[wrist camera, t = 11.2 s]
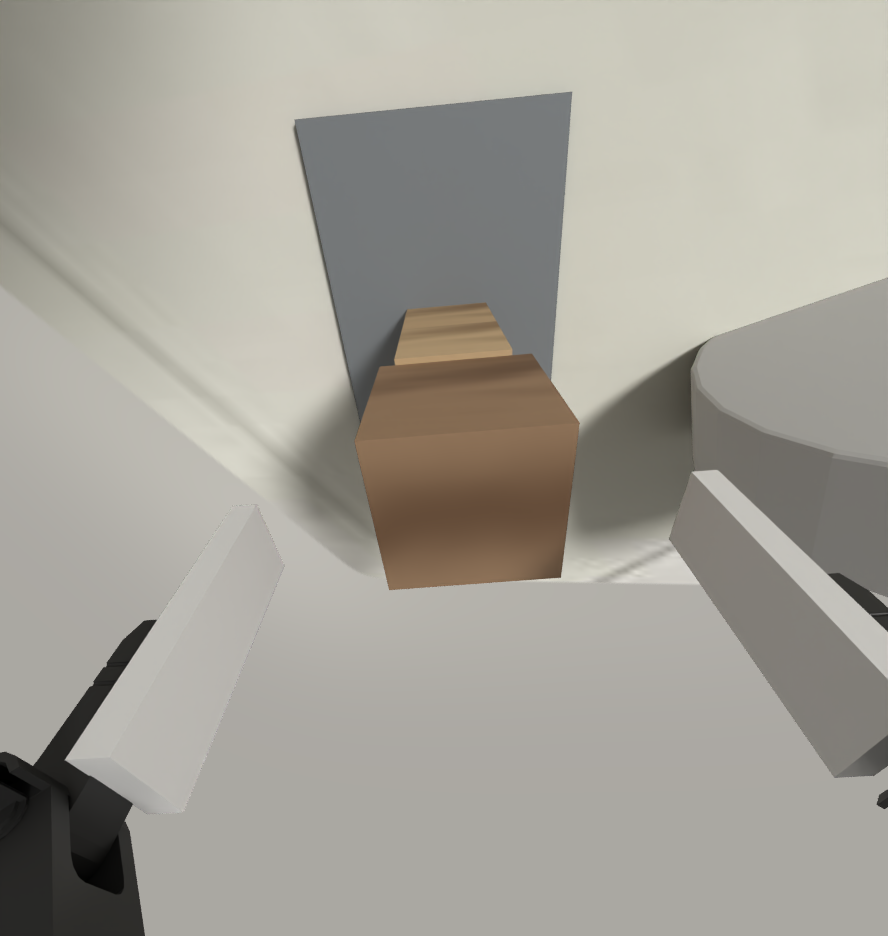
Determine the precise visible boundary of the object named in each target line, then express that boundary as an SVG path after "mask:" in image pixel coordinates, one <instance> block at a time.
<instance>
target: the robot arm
mask: <svg viewBox="0 0 888 936" xmlns="http://www.w3.org/2000/svg"><path fill="white" fill-rule="evenodd" d="M669 540H670V541H671V542H672V544H673V545H674V547H675V548H676V550H677V551H678V553H679V554H680V555H681V557H682V558H683V560H684V561H685V563H686V564H687V566H688V567H689V568H690V570H691V571H692V573H693V574H694V576H695V577H696V579H697V580H698V581H699V583H700V584H701V586H702V587H703V589H704V590H705V592H706V593H707V594H708V596H709V597H710V599H711V600H712V601H713V603H714V604H715V606H716V607H717V609H718V610H719V612H720V613H721V615H722V616H723V618H724V619H725V620H726V622H727V623H728V625H729V626H730V628H731V629H732V631H733V632H734V633H735V635H736V636H737V638H738V639H739V641H740V642H741V643H742V645H743V646H744V648H745V649H746V651H747V652H748V654H749V655H750V657H751V658H752V659H753V661H754V662H755V664H756V665H757V667H758V668H759V669H760V671H761V672H762V674H763V675H764V677H765V678H766V680H767V681H768V683H769V684H770V685H771V687H772V688H773V690H774V691H775V693H776V694H777V695H778V697H779V698H780V700H781V701H782V703H783V704H784V706H785V707H786V709H787V710H788V711H789V713H790V714H791V716H792V717H793V719H794V720H795V722H796V723H797V724H798V726H799V727H800V729H801V730H802V732H803V733H804V735H805V736H806V737H807V739H808V740H809V742H810V743H811V745H812V746H813V747H814V749H815V750H816V752H817V753H818V755H819V756H820V758H821V759H822V760H823V762H824V763H825V765H826V766H827V768H828V769H829V771H830V772H831V774H832V775H833V776H834V777H835V778H838V777H856V776H874V775H876V774H877V773H878V772H880V771H881V770H882V769H884V768H885V767H887V766H888V608H887V607H886V606H885V605H884V604H883V603H882V602H881V601H880V600H879V599H877V598H876V597H875V596H874V595H873V594H872V593H871V592H870V591H869V590H867V589H865V588H864V587H862V586H860V585H859V584H857V583H855V582H854V581H852V580H850V579H849V578H847V577H845V576H844V575H842V574H840V573H831V574H826V573H825V572H824V571H823V570H822V569H821V568H820V567H819V566H818V565H817V564H816V563H815V562H814V561H813V560H812V559H811V558H810V557H809V556H808V555H807V554H805V553H804V552H803V551H802V550H801V549H800V548H799V547H798V546H797V545H796V544H795V543H794V542H793V541H792V540H791V539H790V538H789V537H788V536H787V535H786V534H784V533H783V532H782V531H781V530H780V529H779V528H778V527H777V526H776V525H775V524H774V523H773V522H772V521H771V520H770V519H769V518H768V517H767V516H766V515H765V514H763V513H762V512H761V511H760V510H759V509H758V508H757V507H756V506H755V505H754V504H753V503H752V502H751V501H750V500H749V499H748V498H747V497H746V496H745V495H744V494H742V493H741V492H740V491H739V490H738V489H737V488H736V487H735V486H734V485H733V484H732V483H731V482H730V481H729V480H728V479H727V478H726V477H725V476H724V475H723V474H721V473H720V472H719V471H718V470H708V471H694V472H691V474H690V477H689V480H688V483H687V486H686V489H685V492H684V495H683V498H682V501H681V504H680V507H679V510H678V513H677V516H676V519H675V522H674V525H673V528H672V531H671V534H670V537H669ZM283 568H284V564H283V561H282V559H281V557H280V555H279V552H278V550H277V548H276V546H275V543H274V541H273V539H272V537H271V534H270V533H269V530H268V528H267V526H266V523H265V521H264V519H263V517H262V515H261V512H260V510H259V508H258V505H257V504H253V505H239V506H232V508H231V509H230V511H229V512H228V513H227V515H226V517H225V518H224V520H223V521H222V523H221V524H220V526H219V527H218V529H217V530H216V532H215V533H214V535H213V536H212V538H211V539H210V541H209V542H208V544H207V545H206V547H205V548H204V550H203V552H202V553H201V554H200V556H199V557H198V559H197V560H196V562H195V564H194V565H193V567H192V568H191V570H190V571H189V573H188V574H187V576H186V577H185V579H184V581H183V582H182V583H181V585H180V586H179V588H178V589H177V591H176V592H175V594H174V595H173V597H172V598H171V600H170V601H169V603H168V604H167V606H166V607H165V609H164V611H163V612H162V614H161V615H160V617H159V618H158V620H147V621H143V622H142V623H141V624H140V625H139V626H138V627H137V628H136V629H135V630H133V631H132V632H131V633H130V634H129V635H128V636H127V637H126V638H125V639H124V640H123V641H122V642H121V643H120V645H119V646H118V648H117V649H116V651H115V652H114V653H113V655H112V656H111V658H110V659H109V660H108V662H107V666H106V667H104V668H103V669H102V670H101V672H100V673H99V675H98V676H97V677H96V679H95V680H94V684H93V686H91V687H89V689H88V690H87V691H86V693H85V695H84V696H83V697H82V699H81V700H80V701H79V703H78V704H77V706H76V707H75V708H74V710H73V711H72V713H71V714H70V716H69V717H68V718H67V720H66V721H65V722H64V724H63V725H62V727H61V728H60V730H59V731H58V732H57V734H56V735H55V737H54V738H53V739H52V741H51V742H50V744H49V745H48V746H47V748H46V750H45V751H44V752H43V754H42V755H41V756H40V758H39V759H38V761H37V762H36V763H35V764H34V766H32V765H30V764H28V763H27V762H25V761H23V760H21V759H20V758H18V757H17V756H15V755H12V754H9V753H7V752H2V753H0V936H145V933H144V927H143V919H142V912H141V905H140V899H139V892H138V885H137V879H136V871H135V864H134V857H133V851H132V844H131V837H130V831H129V829H128V827H127V824H126V822H125V819H126V817H127V815H128V813H129V811H130V809H131V807H132V805H134V806H135V807H137V808H139V809H140V810H142V811H143V812H144V813H146V814H161V813H162V814H163V813H180V812H184V810H185V807H186V805H187V802H188V800H189V798H190V795H191V793H192V790H193V788H194V785H195V783H196V780H197V778H198V776H199V773H200V771H201V768H202V766H203V763H204V761H205V759H206V756H207V754H208V751H209V749H210V746H211V744H212V741H213V739H214V737H215V734H216V732H217V729H218V727H219V724H220V722H221V719H222V717H223V714H224V712H225V709H226V707H227V705H228V702H229V700H230V697H231V695H232V693H233V690H234V688H235V685H236V683H237V680H238V678H239V675H240V673H241V670H242V668H243V666H244V663H245V661H246V658H247V656H248V653H249V651H250V649H251V646H252V644H253V641H254V639H255V636H256V634H257V632H258V629H259V626H260V624H261V622H262V619H263V617H264V615H265V612H266V610H267V607H268V605H269V602H270V600H271V597H272V595H273V592H274V590H275V587H276V585H277V583H278V580H279V578H280V575H281V573H282V571H283ZM877 805H878V806H880V807H882V808H883V809H886V808H887V807H888V790H886V791H884V792H883V793H881V794H880V795H879V798H878V801H877Z"/></svg>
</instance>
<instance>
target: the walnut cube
mask: <svg viewBox="0 0 888 936" xmlns="http://www.w3.org/2000/svg"><path fill="white" fill-rule="evenodd" d="M579 424H580V423H579V421H578V420H577V418H576V417H575V415H574V414H573V413H572V411H571V410H570V408H569V407H568V405H567V404H566V402H565V401H564V399H563V398H562V397H561V395H560V394H559V392H558V391H557V389H556V388H555V386H554V385H553V383H552V382H551V381H550V379H549V378H548V376H547V375H546V373H545V372H544V370H543V369H542V367H541V366H540V365H539V363H538V362H537V360H536V359H535V357H534V356H533V354H520V355H509V356H497V357H486V358H474V359H463V360H451V361H439V362H428V363H416V364H405V365H393V366H381V367H379V370H378V373H377V376H376V379H375V382H374V385H373V388H372V391H371V394H370V397H369V400H368V402H367V405H366V408H365V411H364V414H363V417H362V420H361V423H360V426H359V429H358V432H357V435H356V438H355V441H354V442H355V446H356V450H357V455H358V459H359V463H360V467H361V472H362V476H363V480H364V484H365V489H366V493H367V497H368V502H369V506H370V510H371V514H372V519H373V523H374V527H375V531H376V536H377V540H378V544H379V548H380V553H381V557H382V561H383V565H384V570H385V574H386V578H387V582H388V586H389V590H395V589H410V588H423V587H437V586H451V585H465V584H479V583H492V582H506V581H520V580H534V579H547V578H561V572H562V564H563V555H564V547H565V539H566V531H567V522H568V514H569V506H570V498H571V489H572V481H573V473H574V465H575V456H576V448H577V440H578V432H579Z"/></svg>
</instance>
